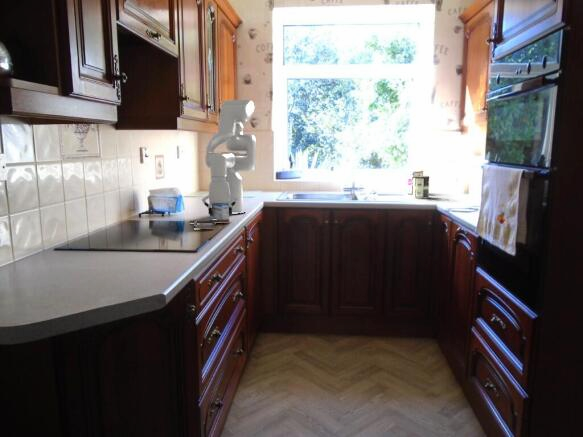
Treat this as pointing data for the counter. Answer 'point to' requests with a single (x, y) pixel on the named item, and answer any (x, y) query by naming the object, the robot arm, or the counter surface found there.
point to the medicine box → (220, 211)
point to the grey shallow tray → (204, 225)
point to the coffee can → (420, 186)
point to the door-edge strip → (215, 220)
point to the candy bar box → (410, 179)
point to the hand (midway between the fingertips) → (220, 215)
